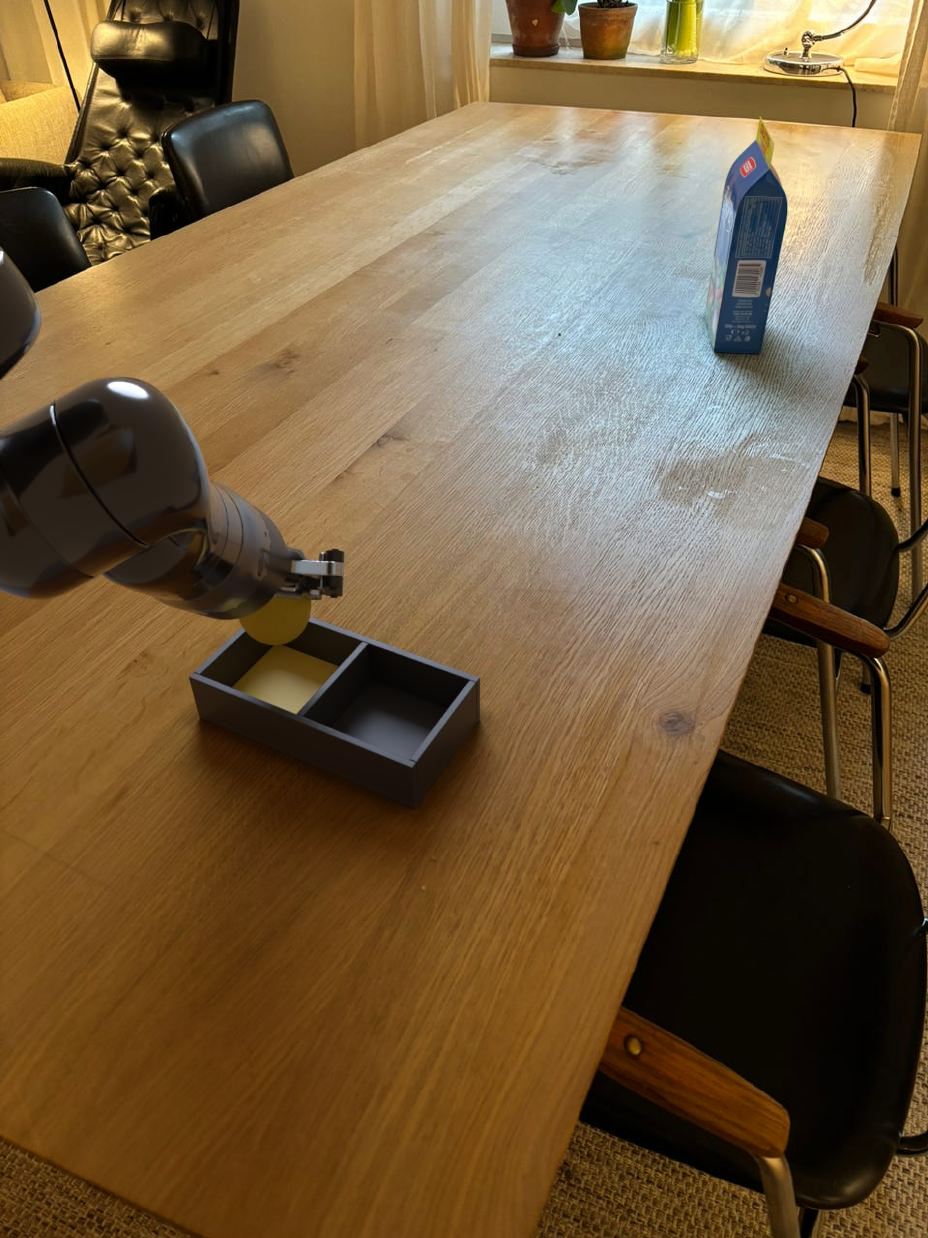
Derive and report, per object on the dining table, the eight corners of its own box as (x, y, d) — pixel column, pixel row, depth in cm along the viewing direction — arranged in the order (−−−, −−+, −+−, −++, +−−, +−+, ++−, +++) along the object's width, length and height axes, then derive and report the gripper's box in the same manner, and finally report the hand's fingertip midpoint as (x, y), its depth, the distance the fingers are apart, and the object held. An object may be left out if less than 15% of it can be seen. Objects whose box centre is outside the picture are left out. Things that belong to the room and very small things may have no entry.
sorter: (415, 810, 71) (412, 768, 68) (199, 718, 79) (188, 676, 76) (480, 718, 78) (480, 677, 75) (276, 642, 85) (268, 601, 82)
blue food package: (749, 315, 136) (786, 116, 119) (761, 354, 126) (803, 144, 110) (703, 314, 136) (733, 115, 120) (711, 352, 127) (745, 143, 111)
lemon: (329, 647, 75) (317, 563, 70) (263, 676, 73) (246, 591, 68) (296, 610, 79) (282, 527, 74) (231, 636, 77) (213, 552, 71)
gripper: (330, 489, 58) (374, 538, 75) (90, 483, 59) (187, 533, 75) (324, 617, 57) (370, 637, 74) (81, 609, 58) (181, 631, 75)
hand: (277, 584), depth 75 cm, fingers closed on lemon, 5 cm apart
